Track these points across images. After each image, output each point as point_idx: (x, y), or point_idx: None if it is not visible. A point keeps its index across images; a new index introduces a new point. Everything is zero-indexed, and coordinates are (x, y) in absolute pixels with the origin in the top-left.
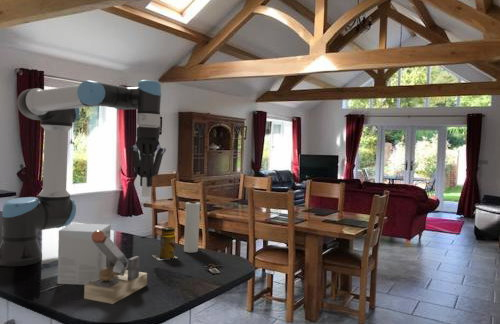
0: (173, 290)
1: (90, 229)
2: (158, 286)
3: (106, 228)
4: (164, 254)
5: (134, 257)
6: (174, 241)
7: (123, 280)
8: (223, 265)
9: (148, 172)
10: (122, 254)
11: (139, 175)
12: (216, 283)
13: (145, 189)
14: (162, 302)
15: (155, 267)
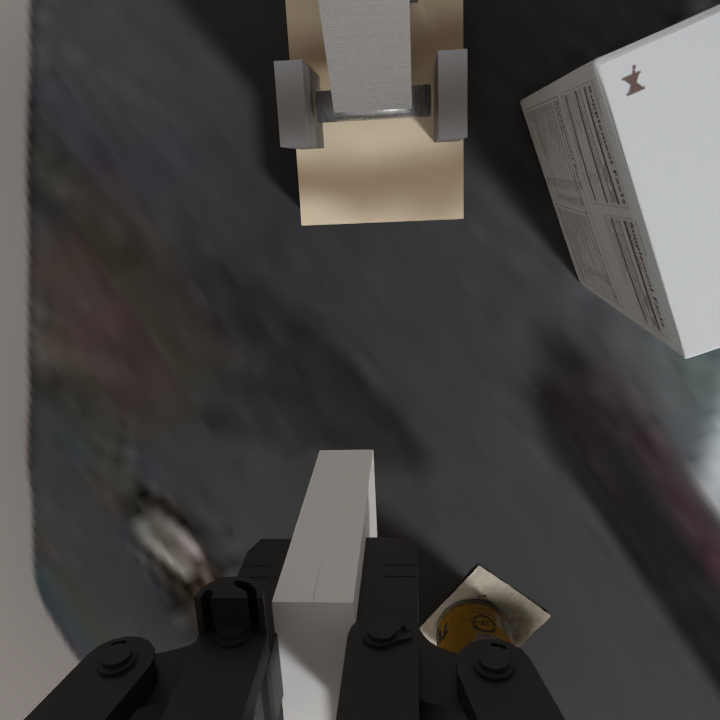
0: (166, 217)
1: (716, 93)
2: (255, 232)
3: (649, 251)
4: (469, 613)
5: (293, 113)
6: None
7: None
8: (173, 619)
9: (203, 680)
10: (322, 22)
11: (440, 651)
12: (64, 387)
13: (310, 493)
14: (115, 55)
15: (428, 465)
